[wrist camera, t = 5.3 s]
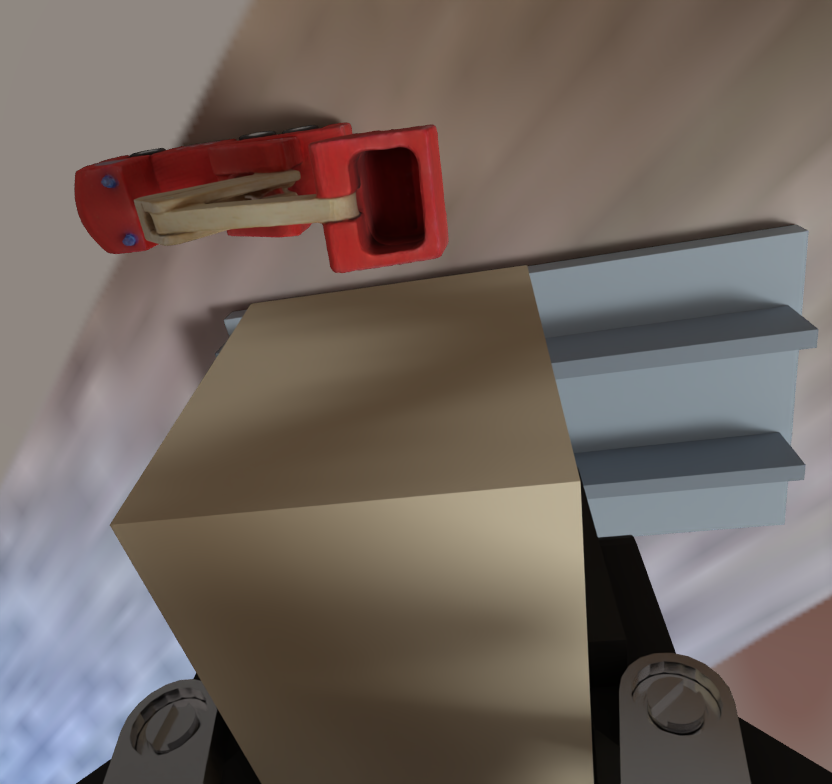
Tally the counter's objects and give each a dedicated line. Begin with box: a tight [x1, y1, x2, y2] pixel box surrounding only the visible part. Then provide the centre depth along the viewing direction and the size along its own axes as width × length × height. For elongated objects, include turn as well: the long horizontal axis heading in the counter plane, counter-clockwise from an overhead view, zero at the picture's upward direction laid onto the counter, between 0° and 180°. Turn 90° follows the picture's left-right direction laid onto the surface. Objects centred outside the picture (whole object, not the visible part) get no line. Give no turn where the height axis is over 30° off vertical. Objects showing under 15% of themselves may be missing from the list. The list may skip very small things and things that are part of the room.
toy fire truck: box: [75, 123, 449, 273], centre depth 21 cm, size 3×14×10 cm, turn 98°
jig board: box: [215, 225, 818, 537], centre depth 27 cm, size 23×14×4 cm, turn 101°
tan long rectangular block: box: [110, 265, 594, 784], centre depth 10 cm, size 4×10×4 cm, turn 9°
